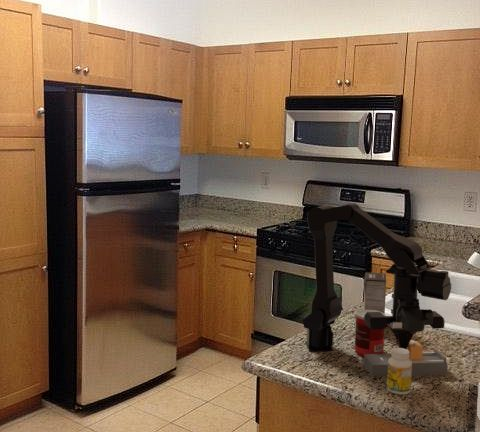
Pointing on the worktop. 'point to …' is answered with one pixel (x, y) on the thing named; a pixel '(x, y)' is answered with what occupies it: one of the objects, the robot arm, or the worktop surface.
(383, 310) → the coffee box
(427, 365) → the switch base
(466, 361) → the worktop surface
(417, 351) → the switch slider
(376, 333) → the canned food
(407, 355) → the supplement bottle
